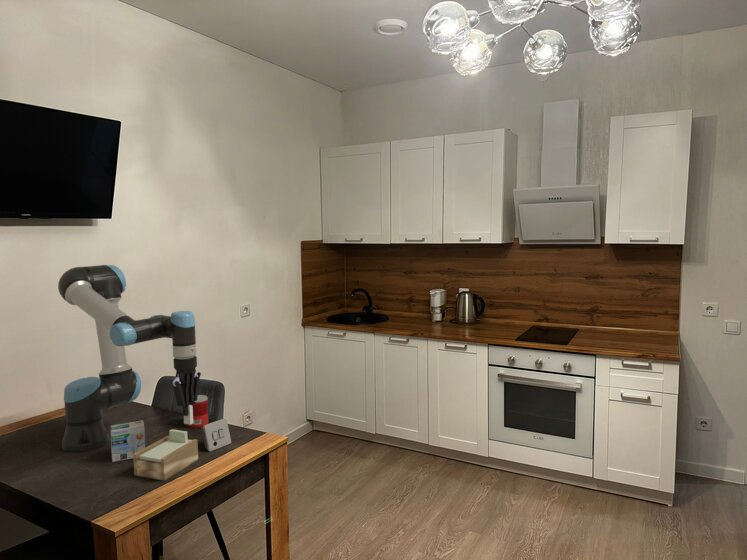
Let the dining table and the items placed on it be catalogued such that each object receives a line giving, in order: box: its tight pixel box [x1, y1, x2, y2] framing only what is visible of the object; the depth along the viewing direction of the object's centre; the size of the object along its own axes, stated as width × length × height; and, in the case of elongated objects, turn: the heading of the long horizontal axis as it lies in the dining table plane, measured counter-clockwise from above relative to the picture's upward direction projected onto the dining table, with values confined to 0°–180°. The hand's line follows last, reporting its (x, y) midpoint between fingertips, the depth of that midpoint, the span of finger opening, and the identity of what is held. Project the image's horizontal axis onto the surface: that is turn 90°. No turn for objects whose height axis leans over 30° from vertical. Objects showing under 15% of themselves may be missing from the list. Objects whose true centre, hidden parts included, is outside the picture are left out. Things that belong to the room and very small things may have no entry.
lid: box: [139, 429, 189, 462], centre depth 171 cm, size 8×14×4 cm, turn 160°
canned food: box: [187, 394, 210, 429], centre depth 209 cm, size 8×8×11 cm
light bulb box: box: [110, 420, 146, 463], centre depth 181 cm, size 11×7×11 cm, turn 117°
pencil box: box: [132, 434, 199, 482], centre depth 172 cm, size 12×16×7 cm
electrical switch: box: [200, 418, 232, 452], centre depth 189 cm, size 9×5×9 cm, turn 141°
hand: (188, 423), depth 182 cm, fingers closed
